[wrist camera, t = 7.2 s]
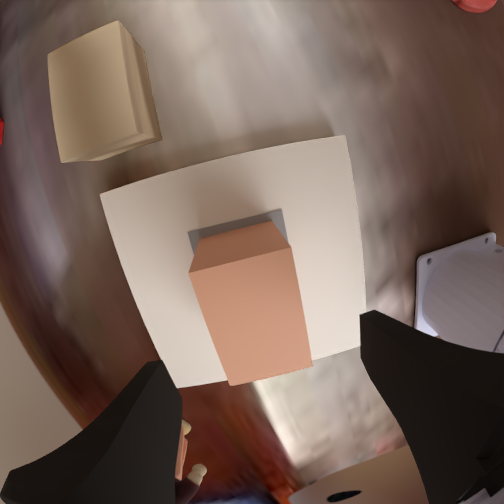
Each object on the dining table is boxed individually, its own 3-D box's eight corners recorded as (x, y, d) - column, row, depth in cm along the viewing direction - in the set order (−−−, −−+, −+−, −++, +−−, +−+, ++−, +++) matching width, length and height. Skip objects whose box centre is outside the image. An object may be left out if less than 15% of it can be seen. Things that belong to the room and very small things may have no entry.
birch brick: (144, 52, 14) (118, 19, 9) (162, 139, 16) (136, 132, 11) (87, 75, 14) (47, 54, 9) (102, 160, 15) (60, 162, 11)
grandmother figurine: (158, 445, 23) (144, 553, 11) (129, 425, 22) (103, 538, 10) (218, 422, 22) (221, 552, 10) (188, 399, 21) (176, 540, 9)
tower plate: (335, 136, 16) (345, 134, 15) (359, 332, 20) (367, 344, 19) (109, 191, 16) (98, 194, 14) (178, 375, 20) (175, 389, 19)
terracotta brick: (271, 220, 16) (291, 247, 11) (292, 314, 18) (312, 366, 13) (199, 238, 16) (188, 273, 11) (228, 330, 18) (230, 385, 13)
